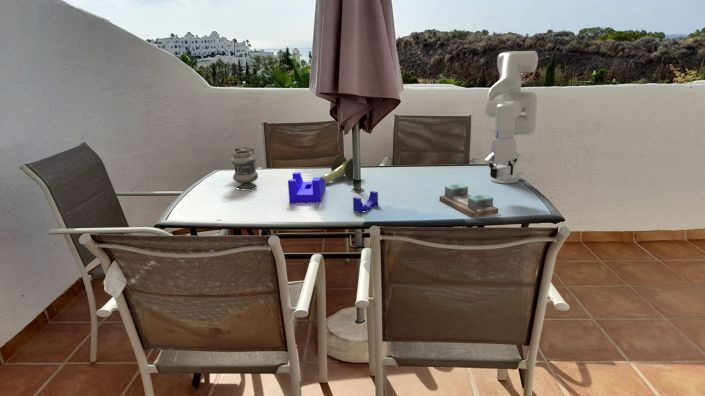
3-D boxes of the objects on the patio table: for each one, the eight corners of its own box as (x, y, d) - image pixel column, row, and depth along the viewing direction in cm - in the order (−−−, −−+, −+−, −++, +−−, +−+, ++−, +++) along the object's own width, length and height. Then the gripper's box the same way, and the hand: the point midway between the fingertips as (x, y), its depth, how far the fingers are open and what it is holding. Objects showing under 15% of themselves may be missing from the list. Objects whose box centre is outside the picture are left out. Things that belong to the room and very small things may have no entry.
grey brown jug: (237, 178, 248) (234, 148, 243) (248, 175, 252) (245, 146, 247) (246, 181, 242) (243, 150, 237) (257, 178, 246) (254, 148, 241)
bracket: (320, 203, 203) (319, 180, 200) (289, 204, 204) (287, 181, 201) (325, 189, 223) (324, 168, 220) (297, 190, 224) (295, 169, 221)
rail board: (463, 196, 204) (463, 182, 202) (498, 213, 183) (499, 197, 181) (439, 200, 200) (439, 186, 198) (472, 217, 179) (472, 202, 177)
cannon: (327, 188, 225) (326, 165, 222) (311, 184, 233) (310, 161, 230) (363, 177, 241) (363, 156, 238) (347, 173, 250) (347, 153, 246)
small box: (497, 175, 199) (498, 164, 197) (510, 177, 195) (511, 166, 194) (491, 178, 195) (492, 167, 193) (505, 181, 191) (505, 169, 189)
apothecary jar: (233, 185, 235) (229, 150, 229) (257, 182, 238) (253, 148, 233) (235, 192, 224) (231, 155, 218) (260, 189, 227) (256, 152, 222)
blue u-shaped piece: (361, 213, 188) (361, 199, 187) (353, 211, 191) (353, 197, 190) (380, 206, 197) (380, 192, 195) (372, 204, 200) (372, 190, 198)
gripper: (515, 129, 194) (512, 170, 201) (480, 135, 189) (478, 176, 195) (527, 133, 188) (524, 175, 194) (491, 139, 182) (489, 181, 189)
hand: (501, 175), depth 195 cm, fingers closed on small box, 7 cm apart
